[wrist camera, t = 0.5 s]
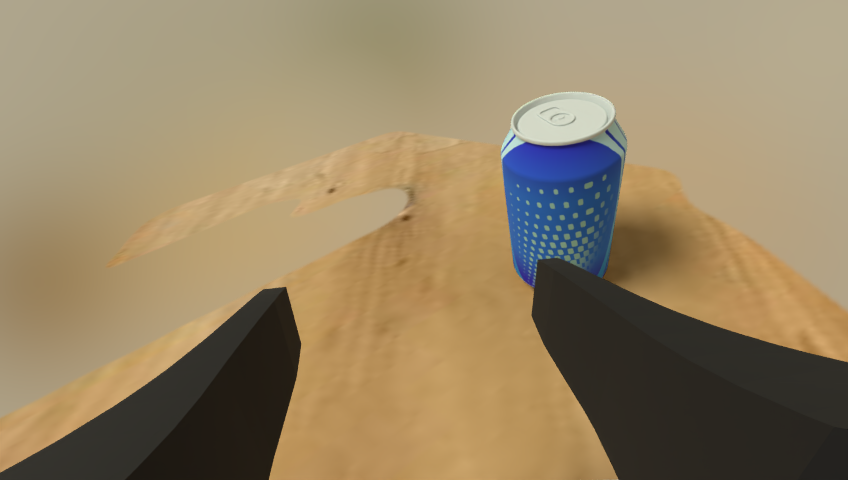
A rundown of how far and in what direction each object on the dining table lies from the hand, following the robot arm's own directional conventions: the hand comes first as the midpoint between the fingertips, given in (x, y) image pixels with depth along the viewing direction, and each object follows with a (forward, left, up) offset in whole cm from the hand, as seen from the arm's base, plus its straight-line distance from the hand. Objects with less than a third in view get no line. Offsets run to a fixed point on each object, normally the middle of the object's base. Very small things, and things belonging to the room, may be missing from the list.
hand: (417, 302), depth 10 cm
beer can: (+17, -8, -21) cm, 28 cm away
